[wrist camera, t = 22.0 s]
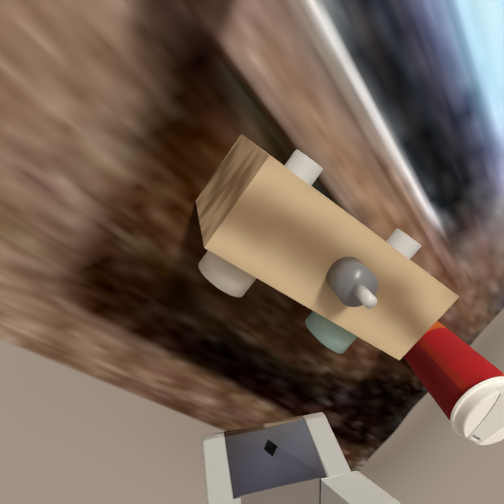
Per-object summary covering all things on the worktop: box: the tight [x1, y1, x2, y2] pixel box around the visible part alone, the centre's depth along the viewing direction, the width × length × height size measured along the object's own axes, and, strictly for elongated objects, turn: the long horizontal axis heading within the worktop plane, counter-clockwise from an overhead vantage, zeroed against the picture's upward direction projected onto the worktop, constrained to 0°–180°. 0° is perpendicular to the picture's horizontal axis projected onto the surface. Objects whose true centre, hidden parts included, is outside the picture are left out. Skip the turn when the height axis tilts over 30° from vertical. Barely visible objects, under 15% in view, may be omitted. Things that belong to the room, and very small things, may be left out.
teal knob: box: [305, 228, 421, 354], centre depth 38 cm, size 13×5×5 cm, turn 144°
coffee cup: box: [403, 321, 504, 445], centre depth 44 cm, size 8×8×15 cm
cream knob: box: [198, 149, 323, 297], centre depth 33 cm, size 13×5×5 cm, turn 144°
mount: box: [196, 134, 459, 360], centre depth 36 cm, size 8×22×12 cm, turn 54°
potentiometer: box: [327, 257, 378, 309], centre depth 29 cm, size 3×3×4 cm
